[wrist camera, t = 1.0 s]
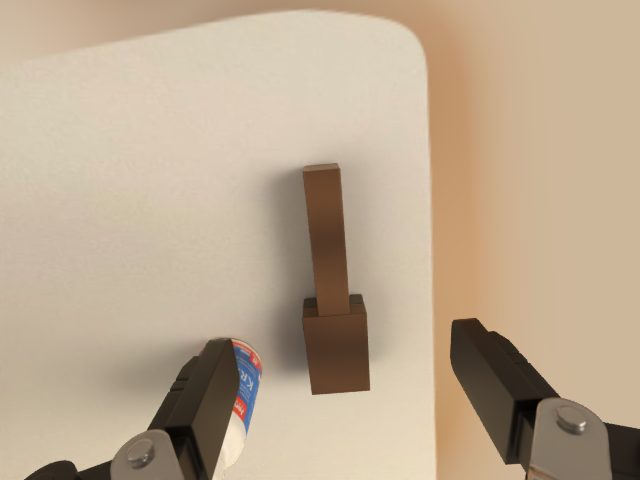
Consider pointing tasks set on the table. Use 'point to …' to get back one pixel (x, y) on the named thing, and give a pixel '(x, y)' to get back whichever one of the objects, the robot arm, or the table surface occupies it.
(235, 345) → the pill bottle
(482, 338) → the robot arm
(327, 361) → the brush
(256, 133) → the table surface
